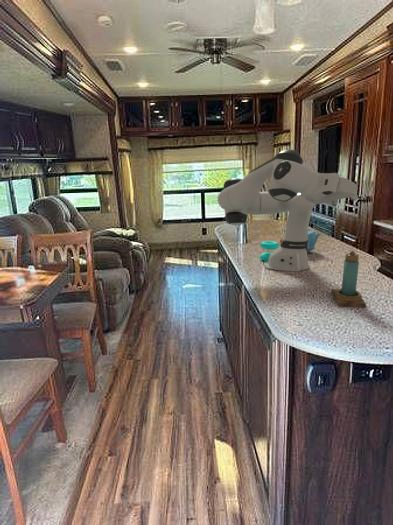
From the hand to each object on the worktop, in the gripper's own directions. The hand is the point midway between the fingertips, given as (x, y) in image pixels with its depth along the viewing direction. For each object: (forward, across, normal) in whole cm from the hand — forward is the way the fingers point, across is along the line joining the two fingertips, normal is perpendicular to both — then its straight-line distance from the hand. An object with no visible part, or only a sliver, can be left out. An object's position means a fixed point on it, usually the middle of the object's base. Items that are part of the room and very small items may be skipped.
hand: (345, 200), depth 128 cm
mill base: (+17, -6, -33) cm, 38 cm away
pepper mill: (+15, -5, -32) cm, 36 cm away
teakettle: (+43, -75, -4) cm, 87 cm away
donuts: (+18, -69, -16) cm, 73 cm away
